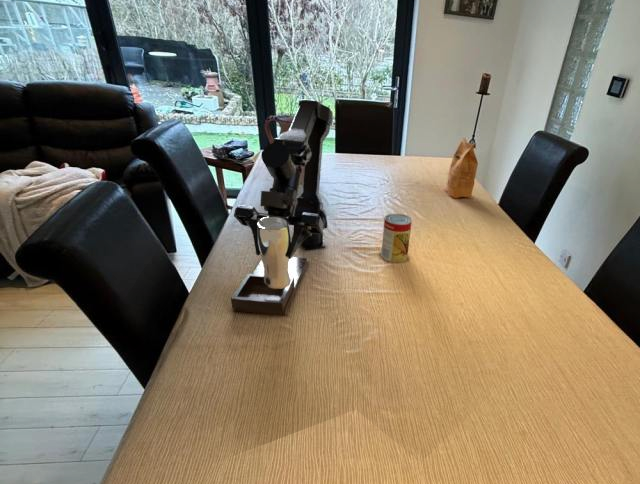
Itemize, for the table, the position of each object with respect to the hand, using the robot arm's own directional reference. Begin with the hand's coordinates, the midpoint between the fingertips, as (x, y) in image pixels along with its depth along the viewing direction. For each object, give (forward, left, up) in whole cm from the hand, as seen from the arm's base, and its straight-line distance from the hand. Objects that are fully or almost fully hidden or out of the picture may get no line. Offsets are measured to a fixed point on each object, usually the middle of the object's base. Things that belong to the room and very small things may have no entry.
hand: (273, 256), depth 91 cm
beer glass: (-1, -1, -8) cm, 8 cm away
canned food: (-40, -12, -13) cm, 44 cm away
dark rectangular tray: (-2, -9, -13) cm, 16 cm away
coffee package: (-97, -52, -13) cm, 111 cm away
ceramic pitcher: (-36, -88, -13) cm, 96 cm away
